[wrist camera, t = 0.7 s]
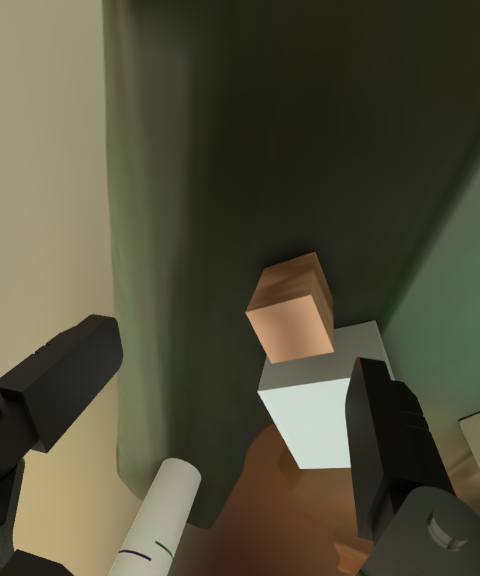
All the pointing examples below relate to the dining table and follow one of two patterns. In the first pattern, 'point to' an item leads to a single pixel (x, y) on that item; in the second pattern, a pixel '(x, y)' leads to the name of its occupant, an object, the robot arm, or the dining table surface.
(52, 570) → the robot arm
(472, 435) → the tall beige block
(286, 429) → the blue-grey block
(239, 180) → the dining table surface
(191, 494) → the cylindrical container
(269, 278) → the terracotta block
